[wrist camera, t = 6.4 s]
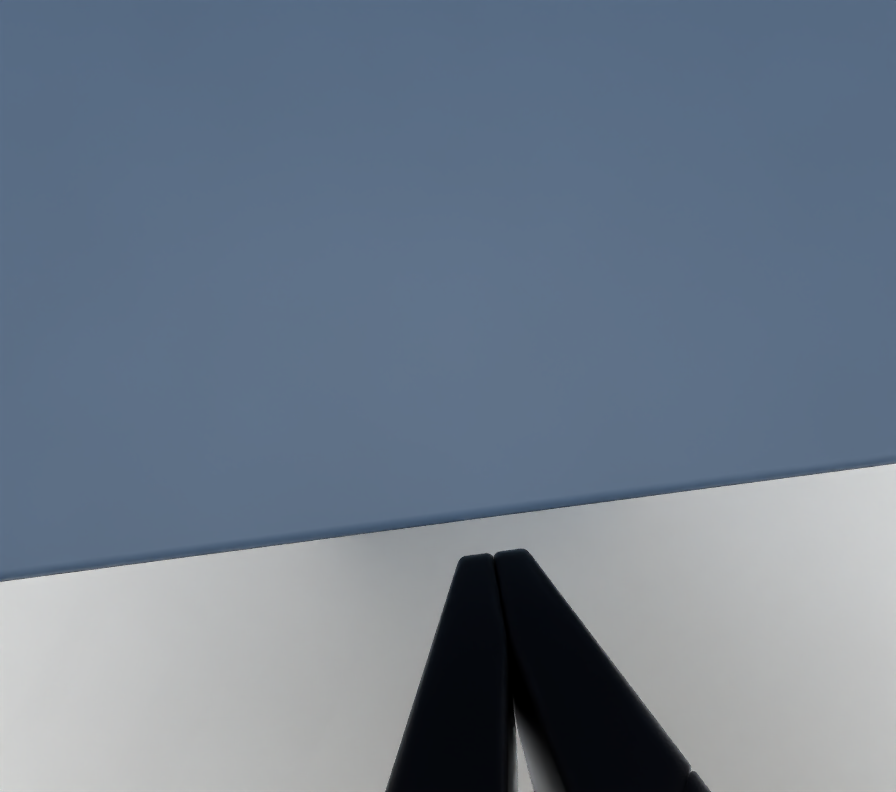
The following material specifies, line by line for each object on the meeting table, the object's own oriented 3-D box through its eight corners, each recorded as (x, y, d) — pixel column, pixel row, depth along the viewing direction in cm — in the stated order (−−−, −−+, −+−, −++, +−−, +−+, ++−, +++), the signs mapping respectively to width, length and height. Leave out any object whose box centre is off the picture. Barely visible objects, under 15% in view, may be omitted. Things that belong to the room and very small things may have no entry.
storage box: (644, 485, 17) (1251, 416, 4) (302, 530, 17) (-209, 609, 4) (558, -42, 19) (789, -1297, 6) (246, -2, 19) (-238, -1174, 6)
